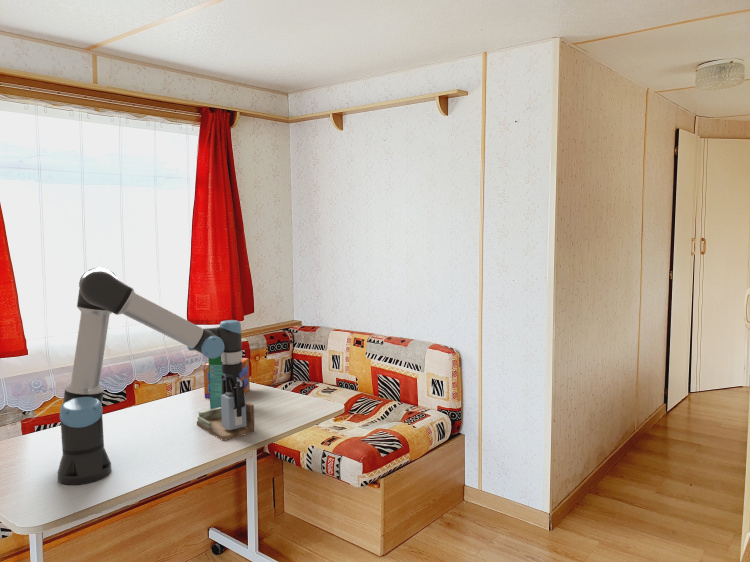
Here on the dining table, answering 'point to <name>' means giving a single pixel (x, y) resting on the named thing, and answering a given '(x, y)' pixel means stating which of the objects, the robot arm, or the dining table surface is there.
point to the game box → (243, 375)
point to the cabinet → (230, 411)
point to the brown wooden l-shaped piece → (213, 423)
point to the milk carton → (215, 382)
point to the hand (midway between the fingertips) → (233, 422)
